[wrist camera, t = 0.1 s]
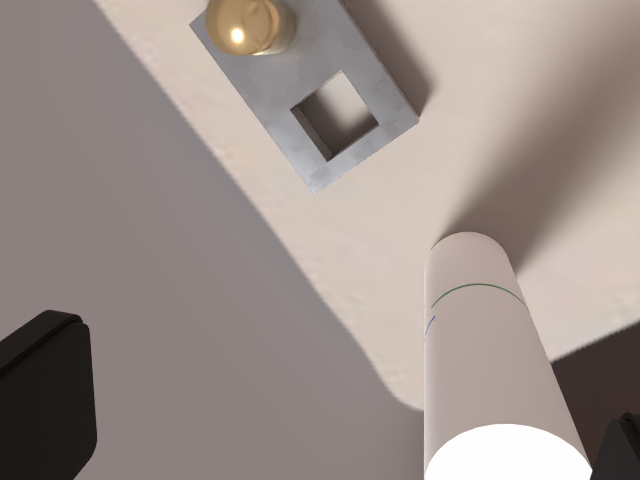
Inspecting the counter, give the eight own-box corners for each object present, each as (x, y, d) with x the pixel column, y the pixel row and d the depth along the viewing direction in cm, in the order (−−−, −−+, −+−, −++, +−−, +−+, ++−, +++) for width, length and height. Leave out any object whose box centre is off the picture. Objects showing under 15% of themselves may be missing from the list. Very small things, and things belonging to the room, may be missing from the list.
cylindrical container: (412, 291, 48) (400, 518, 25) (443, 219, 45) (462, 399, 22) (488, 319, 48) (549, 577, 25) (524, 249, 45) (630, 463, 22)
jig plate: (203, 26, 44) (188, 24, 41) (299, -61, 40) (290, -69, 38) (320, 186, 46) (313, 195, 44) (419, 117, 43) (419, 122, 40)
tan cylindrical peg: (246, -4, 39) (205, -16, 32) (297, 1, 39) (267, -10, 32) (244, 51, 41) (204, 52, 33) (293, 56, 40) (264, 58, 33)
